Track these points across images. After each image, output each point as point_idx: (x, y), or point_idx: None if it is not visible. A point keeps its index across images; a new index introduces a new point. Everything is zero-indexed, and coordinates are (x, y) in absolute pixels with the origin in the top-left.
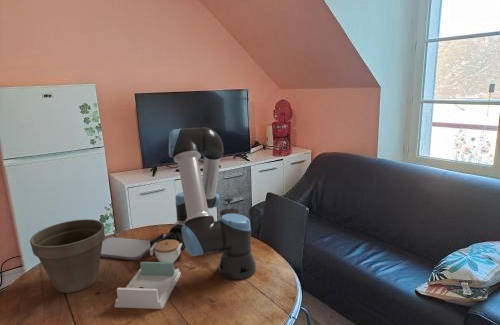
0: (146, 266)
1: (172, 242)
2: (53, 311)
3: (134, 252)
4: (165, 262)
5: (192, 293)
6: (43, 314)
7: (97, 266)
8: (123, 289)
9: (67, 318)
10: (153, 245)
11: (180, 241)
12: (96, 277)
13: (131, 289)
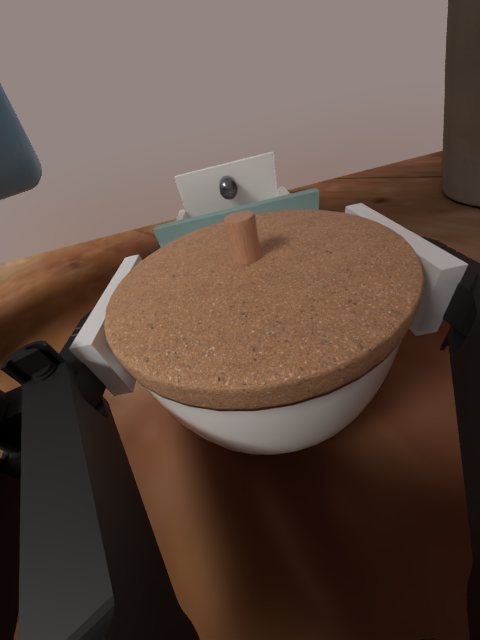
0: None
1: (193, 296)
2: (405, 168)
3: None
4: (193, 220)
5: (117, 265)
6: (413, 163)
7: (473, 131)
8: (255, 156)
9: (352, 175)
10: (405, 232)
11: (104, 469)
12: (469, 191)
13: (236, 161)
